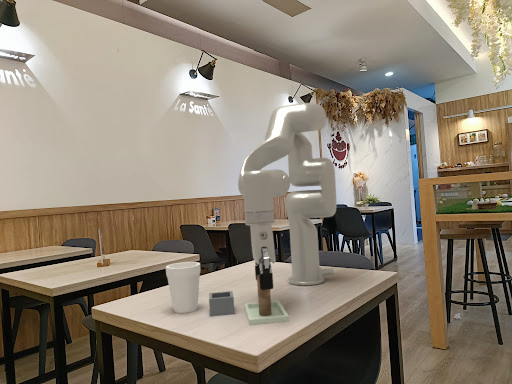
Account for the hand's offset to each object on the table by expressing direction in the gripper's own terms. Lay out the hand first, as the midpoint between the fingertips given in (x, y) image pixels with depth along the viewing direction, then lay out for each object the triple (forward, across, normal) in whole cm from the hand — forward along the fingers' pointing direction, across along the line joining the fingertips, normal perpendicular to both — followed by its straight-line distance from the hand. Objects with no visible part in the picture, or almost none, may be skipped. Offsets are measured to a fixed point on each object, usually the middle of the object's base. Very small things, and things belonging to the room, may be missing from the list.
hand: (264, 284), depth 99 cm
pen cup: (+8, +6, +11) cm, 15 cm away
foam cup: (+8, +11, +21) cm, 25 cm away
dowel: (+8, 0, 0) cm, 8 cm away
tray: (+8, 0, 0) cm, 8 cm away
